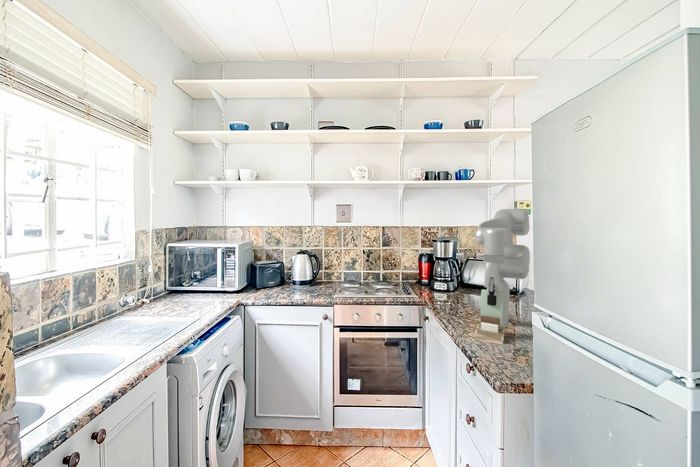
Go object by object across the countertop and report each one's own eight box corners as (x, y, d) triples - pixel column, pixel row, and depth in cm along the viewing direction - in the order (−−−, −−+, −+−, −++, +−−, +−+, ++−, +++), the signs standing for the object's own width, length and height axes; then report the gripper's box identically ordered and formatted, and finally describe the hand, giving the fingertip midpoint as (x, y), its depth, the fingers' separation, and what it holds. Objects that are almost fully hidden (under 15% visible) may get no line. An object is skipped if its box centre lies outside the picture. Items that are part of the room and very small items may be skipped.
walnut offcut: (480, 334, 124) (481, 315, 124) (499, 338, 121) (500, 318, 121) (479, 335, 123) (480, 316, 123) (499, 339, 119) (500, 319, 119)
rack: (477, 333, 129) (478, 322, 129) (504, 338, 124) (504, 326, 124) (474, 341, 120) (474, 329, 120) (502, 347, 115) (503, 334, 115)
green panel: (480, 327, 128) (481, 289, 127) (501, 331, 124) (503, 291, 123) (479, 328, 126) (481, 290, 125) (501, 332, 122) (503, 292, 121)
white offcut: (480, 337, 121) (481, 322, 121) (497, 340, 118) (498, 324, 118) (480, 338, 120) (481, 323, 120) (497, 341, 117) (498, 326, 117)
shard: (471, 320, 148) (471, 316, 148) (487, 324, 143) (487, 320, 143) (462, 325, 140) (462, 321, 140) (479, 329, 135) (479, 325, 135)
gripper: (485, 256, 132) (483, 298, 133) (481, 260, 119) (479, 307, 119) (505, 258, 129) (503, 301, 130) (502, 262, 115) (500, 310, 116)
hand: (491, 304), depth 124 cm, fingers closed on green panel, 2 cm apart
